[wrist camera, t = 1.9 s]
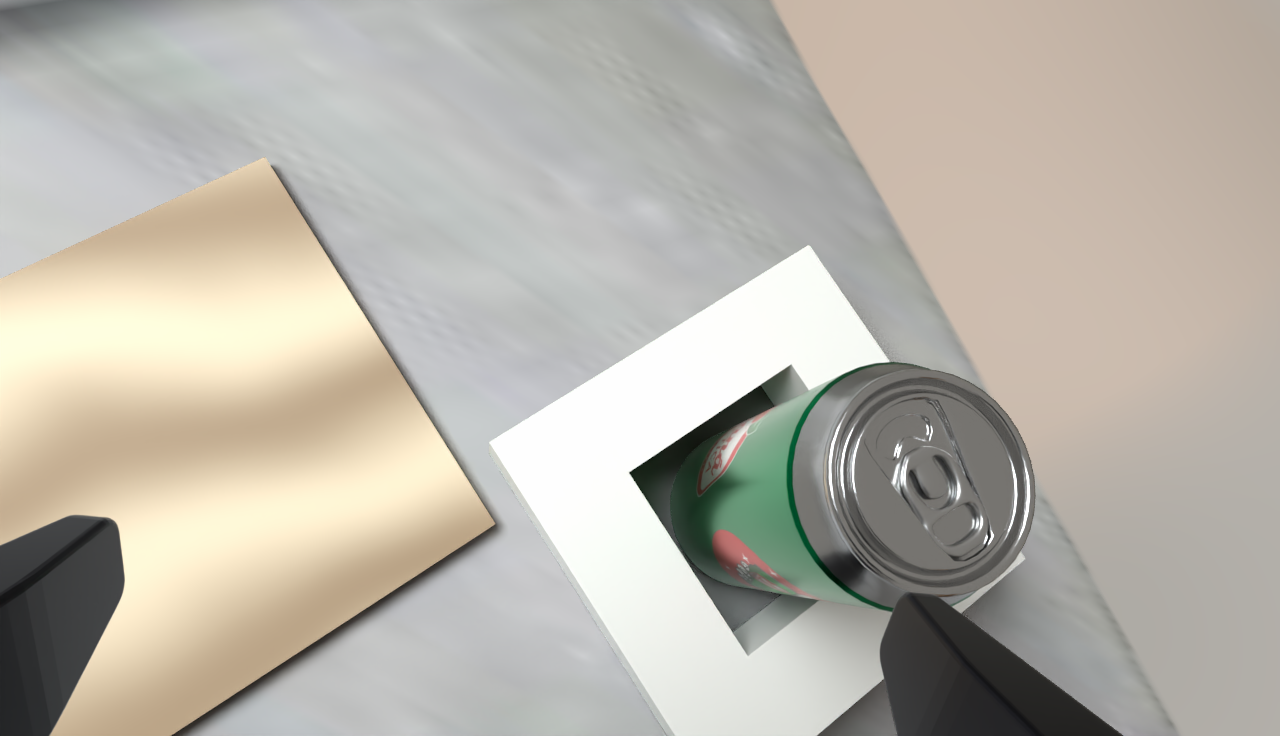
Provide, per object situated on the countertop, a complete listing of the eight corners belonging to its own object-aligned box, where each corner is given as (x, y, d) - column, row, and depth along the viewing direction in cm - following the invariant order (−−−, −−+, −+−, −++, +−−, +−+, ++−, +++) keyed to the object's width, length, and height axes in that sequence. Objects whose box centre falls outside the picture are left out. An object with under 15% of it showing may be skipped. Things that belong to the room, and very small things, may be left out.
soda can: (765, 408, 27) (966, 308, 16) (837, 539, 27) (1101, 535, 15) (639, 475, 26) (759, 420, 14) (712, 614, 25) (898, 673, 14)
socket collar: (969, 557, 27) (1025, 558, 25) (696, 781, 24) (724, 813, 21) (776, 275, 28) (809, 244, 26) (489, 454, 25) (489, 442, 22)
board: (495, 524, 25) (495, 524, 24) (39, 821, 21) (29, 827, 20) (269, 163, 26) (265, 157, 25) (-202, 382, 22) (-217, 378, 22)
